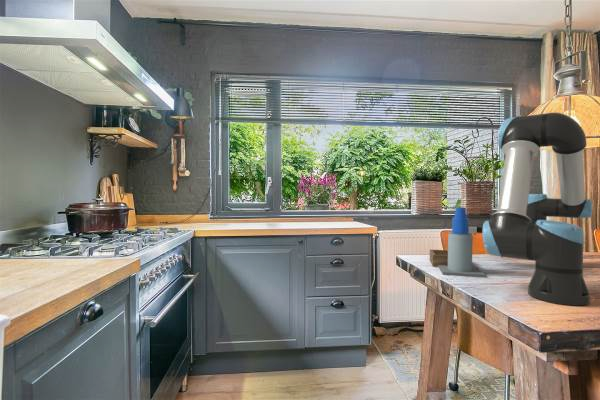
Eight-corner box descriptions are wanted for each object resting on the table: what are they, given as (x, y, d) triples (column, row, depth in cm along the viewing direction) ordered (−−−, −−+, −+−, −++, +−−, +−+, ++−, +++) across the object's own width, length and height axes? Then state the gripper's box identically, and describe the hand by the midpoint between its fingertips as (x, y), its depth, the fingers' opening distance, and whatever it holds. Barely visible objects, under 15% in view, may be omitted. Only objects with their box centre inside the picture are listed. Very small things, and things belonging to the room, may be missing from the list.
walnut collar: (469, 268, 144) (470, 256, 144) (432, 266, 148) (433, 255, 148) (463, 261, 158) (463, 251, 158) (429, 260, 162) (429, 249, 162)
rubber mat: (485, 277, 130) (485, 274, 130) (442, 274, 134) (442, 272, 134) (477, 269, 143) (477, 267, 143) (438, 267, 147) (438, 265, 147)
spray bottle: (443, 269, 139) (444, 207, 138) (454, 266, 145) (455, 206, 144) (465, 273, 132) (466, 208, 131) (475, 269, 138) (477, 207, 137)
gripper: (545, 244, 134) (500, 246, 128) (493, 236, 158) (453, 237, 152) (545, 225, 133) (501, 226, 128) (493, 219, 158) (454, 220, 152)
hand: (475, 232), depth 140 cm, fingers open, 13 cm apart
